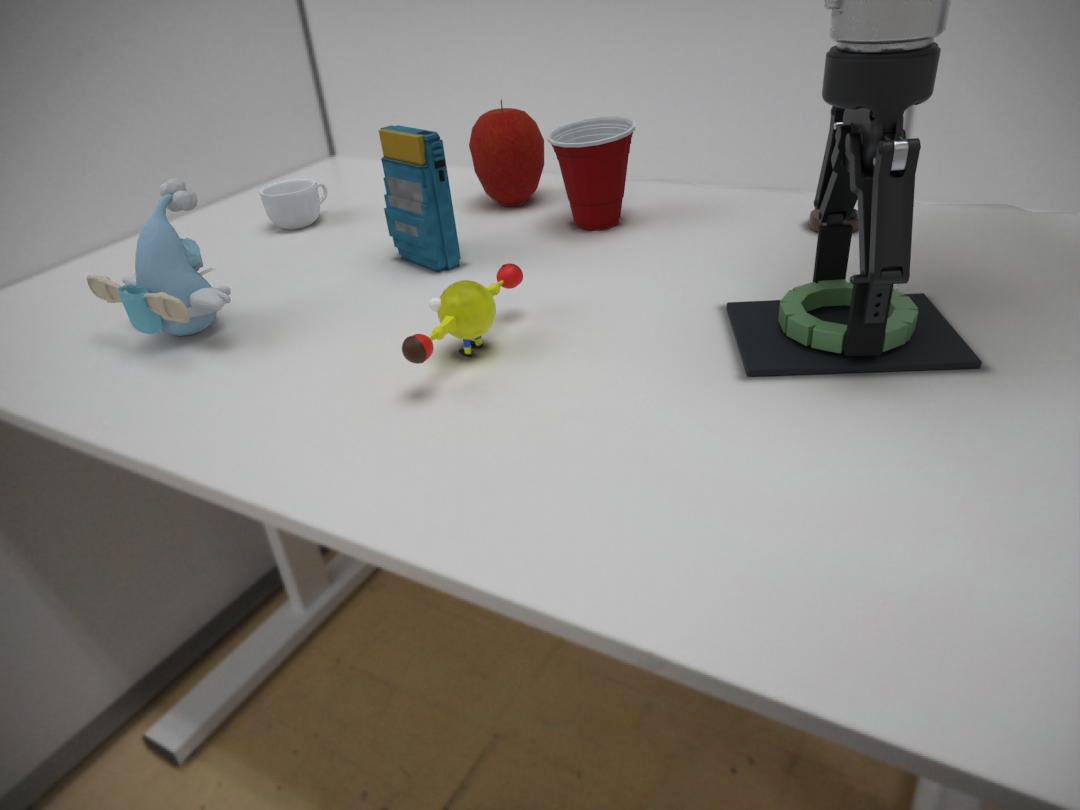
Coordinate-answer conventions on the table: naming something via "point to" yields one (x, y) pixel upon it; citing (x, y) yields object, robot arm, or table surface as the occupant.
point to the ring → (834, 334)
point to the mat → (785, 356)
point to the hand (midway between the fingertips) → (843, 321)
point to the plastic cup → (594, 167)
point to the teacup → (292, 202)
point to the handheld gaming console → (419, 197)
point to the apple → (507, 155)
